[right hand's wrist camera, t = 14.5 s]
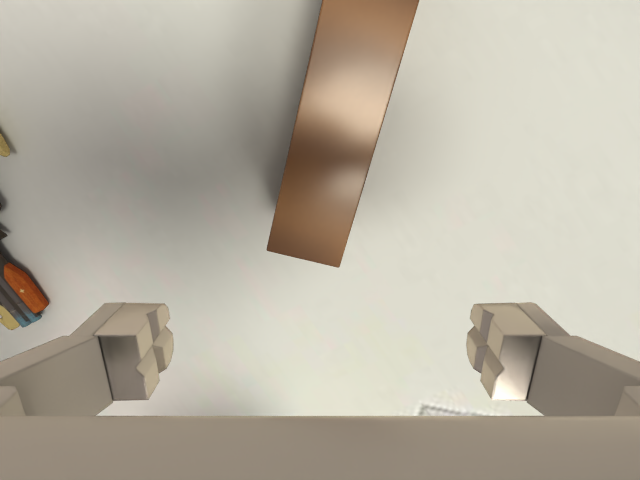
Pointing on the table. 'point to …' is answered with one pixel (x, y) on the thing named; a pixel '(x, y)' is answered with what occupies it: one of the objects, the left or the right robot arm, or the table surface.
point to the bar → (338, 124)
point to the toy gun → (17, 287)
